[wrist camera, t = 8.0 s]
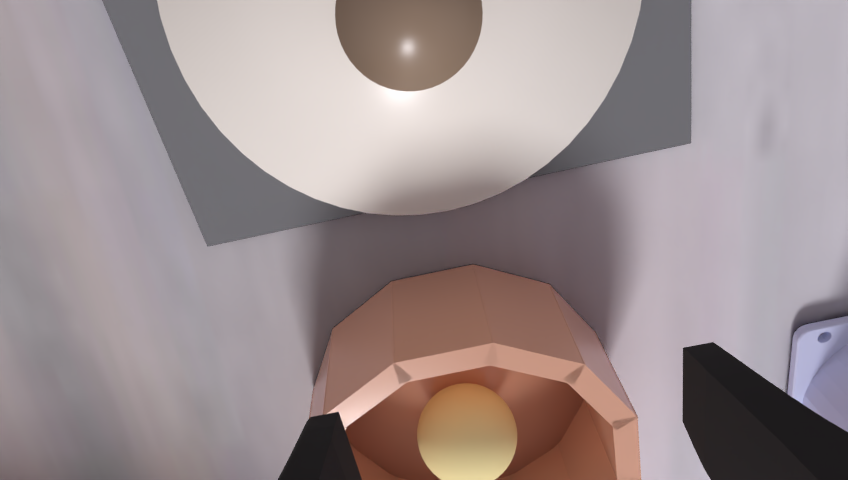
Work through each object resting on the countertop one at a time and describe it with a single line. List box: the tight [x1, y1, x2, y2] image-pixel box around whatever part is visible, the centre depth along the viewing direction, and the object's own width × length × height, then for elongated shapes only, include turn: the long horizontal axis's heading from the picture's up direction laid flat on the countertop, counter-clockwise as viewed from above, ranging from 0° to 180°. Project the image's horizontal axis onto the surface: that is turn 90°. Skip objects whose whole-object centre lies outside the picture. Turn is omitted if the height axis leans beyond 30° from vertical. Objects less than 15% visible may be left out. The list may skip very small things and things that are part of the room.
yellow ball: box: [417, 383, 517, 480], centre depth 23 cm, size 4×4×4 cm
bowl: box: [309, 264, 641, 480], centre depth 23 cm, size 11×11×4 cm
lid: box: [157, 0, 641, 216], centre depth 16 cm, size 13×13×4 cm
